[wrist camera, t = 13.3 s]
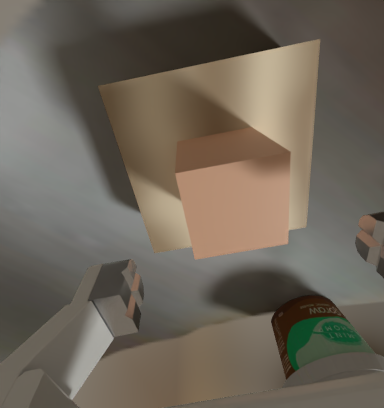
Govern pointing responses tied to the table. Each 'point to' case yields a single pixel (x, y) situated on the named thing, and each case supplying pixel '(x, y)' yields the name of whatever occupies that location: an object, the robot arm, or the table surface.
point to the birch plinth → (212, 125)
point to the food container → (320, 343)
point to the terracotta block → (234, 191)
